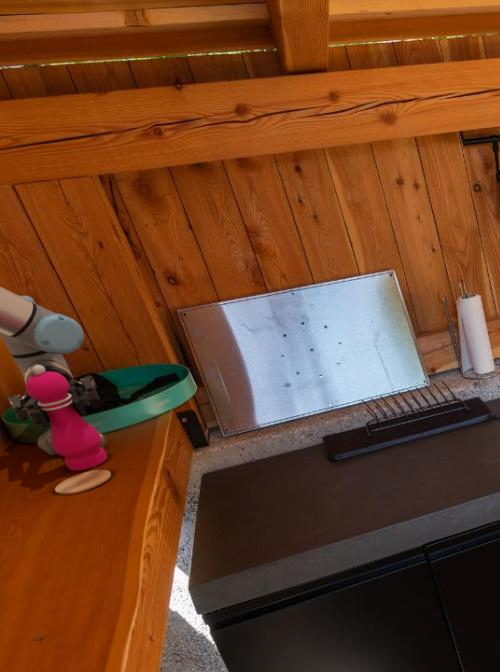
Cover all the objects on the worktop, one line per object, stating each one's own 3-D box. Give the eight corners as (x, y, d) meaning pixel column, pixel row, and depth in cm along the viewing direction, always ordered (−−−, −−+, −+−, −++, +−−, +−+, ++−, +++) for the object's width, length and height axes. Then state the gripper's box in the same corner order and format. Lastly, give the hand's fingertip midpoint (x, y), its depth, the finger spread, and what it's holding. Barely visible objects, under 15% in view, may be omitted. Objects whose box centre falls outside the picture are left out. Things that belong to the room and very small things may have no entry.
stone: (115, 448, 153) (94, 417, 154) (102, 438, 148) (80, 406, 149) (62, 474, 149) (41, 442, 150) (47, 465, 144) (25, 432, 145)
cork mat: (44, 496, 134) (43, 494, 134) (77, 473, 142) (76, 471, 142) (91, 492, 134) (90, 490, 134) (121, 469, 142) (120, 467, 141)
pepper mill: (55, 470, 143) (0, 372, 133) (90, 452, 149) (40, 356, 139) (86, 473, 141) (32, 374, 131) (120, 454, 147) (71, 358, 137)
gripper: (112, 386, 158) (129, 416, 143) (3, 416, 148) (9, 451, 132) (95, 352, 155) (111, 379, 139) (-17, 380, 145) (-14, 412, 129)
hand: (61, 414), depth 136 cm, fingers closed on pepper mill, 5 cm apart
